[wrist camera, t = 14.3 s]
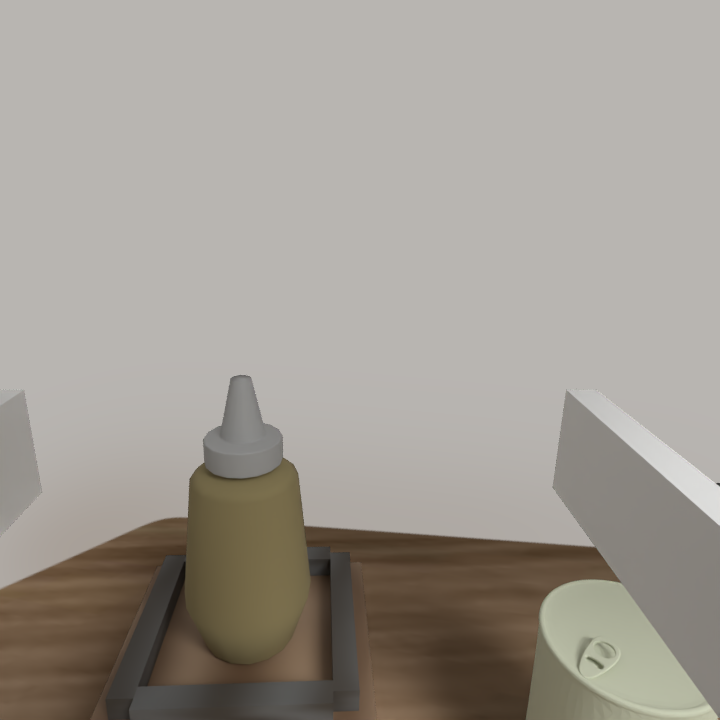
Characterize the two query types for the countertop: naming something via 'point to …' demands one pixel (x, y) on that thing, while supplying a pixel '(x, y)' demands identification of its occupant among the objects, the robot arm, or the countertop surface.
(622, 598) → the can
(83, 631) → the countertop surface
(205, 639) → the squeeze bottle
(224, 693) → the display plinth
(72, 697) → the countertop surface
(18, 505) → the robot arm
